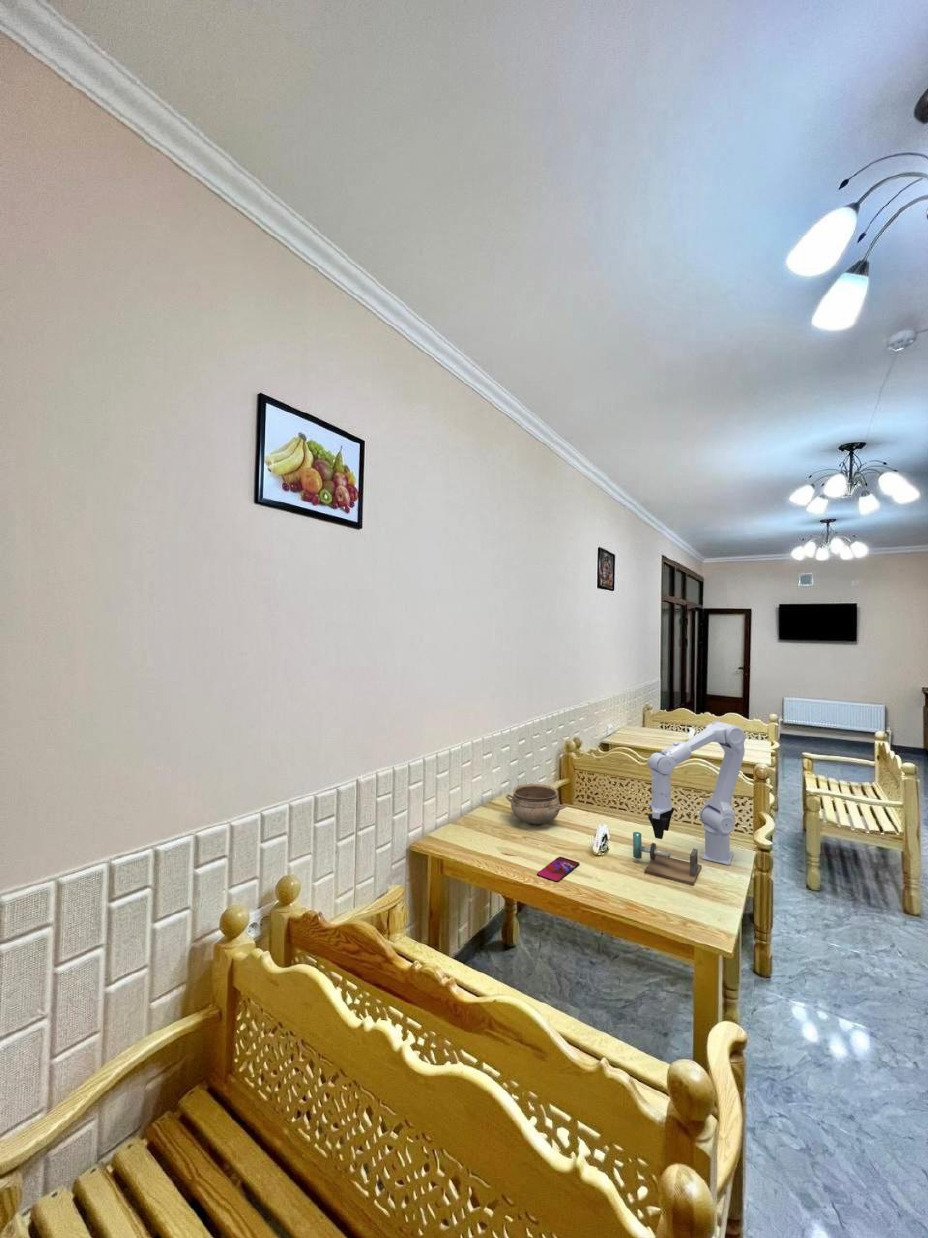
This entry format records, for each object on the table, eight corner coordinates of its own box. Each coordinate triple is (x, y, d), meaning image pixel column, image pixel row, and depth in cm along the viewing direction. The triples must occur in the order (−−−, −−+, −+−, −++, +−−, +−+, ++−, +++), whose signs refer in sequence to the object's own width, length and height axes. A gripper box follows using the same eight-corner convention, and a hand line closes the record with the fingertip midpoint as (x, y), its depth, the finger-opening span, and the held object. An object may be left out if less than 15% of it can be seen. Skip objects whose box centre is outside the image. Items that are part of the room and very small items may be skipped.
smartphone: (535, 874, 156) (559, 855, 167) (535, 876, 156) (559, 858, 167) (557, 881, 151) (580, 862, 162) (557, 884, 151) (580, 865, 162)
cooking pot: (574, 820, 198) (574, 789, 199) (557, 838, 182) (557, 804, 182) (516, 809, 211) (516, 779, 211) (495, 824, 195) (495, 793, 195)
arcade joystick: (635, 853, 167) (635, 830, 167) (671, 862, 160) (671, 838, 160) (631, 859, 162) (630, 835, 162) (668, 868, 156) (667, 843, 156)
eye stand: (655, 857, 167) (655, 835, 167) (701, 868, 159) (701, 845, 159) (644, 873, 156) (644, 849, 156) (693, 886, 148) (693, 861, 148)
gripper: (654, 783, 171) (654, 824, 171) (642, 795, 159) (642, 839, 159) (676, 787, 167) (676, 828, 167) (665, 800, 155) (666, 844, 155)
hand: (661, 834), depth 162 cm, fingers open, 7 cm apart
